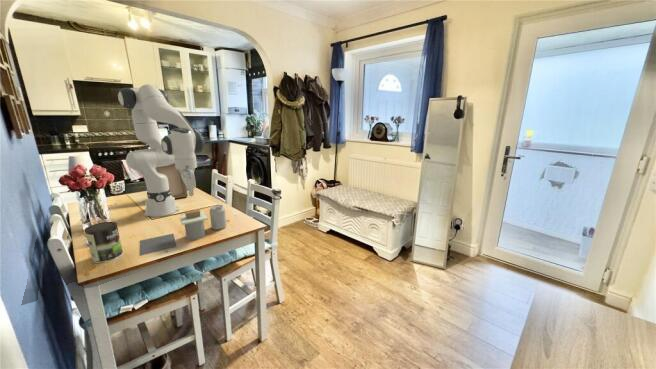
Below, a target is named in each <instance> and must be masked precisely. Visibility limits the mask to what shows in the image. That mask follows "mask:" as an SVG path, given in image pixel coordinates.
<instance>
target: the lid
mask: <svg viewBox="0 0 656 369" xmlns="http://www.w3.org/2000/svg"><path fill="white" fill-rule="evenodd" d="M178 218H179V220H180V223H181V225H182V226H183V225H184V224H189V223H194V222H199V221H204V222H205V221H207V220H209V218H208V216H207V215H206V213H205V211H203V210H200V209H194V210H188V211H185V214H179V216H178ZM184 226H185V225H184Z"/></svg>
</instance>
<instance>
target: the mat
mask: <svg viewBox="0 0 656 369" xmlns="http://www.w3.org/2000/svg"><path fill="white" fill-rule="evenodd" d="M174 248H178V247H177V242H176V237H175V235H174V233H169V234H164V235H159V236H155V237H151V238H144V239H140V240H139V254H138V255H139V257H140V256H145V255H149V254H153V253H157V252H161V251H166V250H170V249H174Z"/></svg>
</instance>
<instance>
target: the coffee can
mask: <svg viewBox="0 0 656 369" xmlns="http://www.w3.org/2000/svg"><path fill="white" fill-rule="evenodd" d="M84 233H85V236H86V241H87V244H88V248H89V251H90V252H89V253H90V255H91V260H92V262H93V263H94V262H95V263H94V264H100V263H107V262H110V261H113V260H116V259H117V258H119V257H122V255H123V254H124V251H123V247H122V242H121V238H120V231H119V228H118V223H117V222H116V221H103V222H98V223H94V224H91V225H89V226H87V227H85V228H84Z"/></svg>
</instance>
